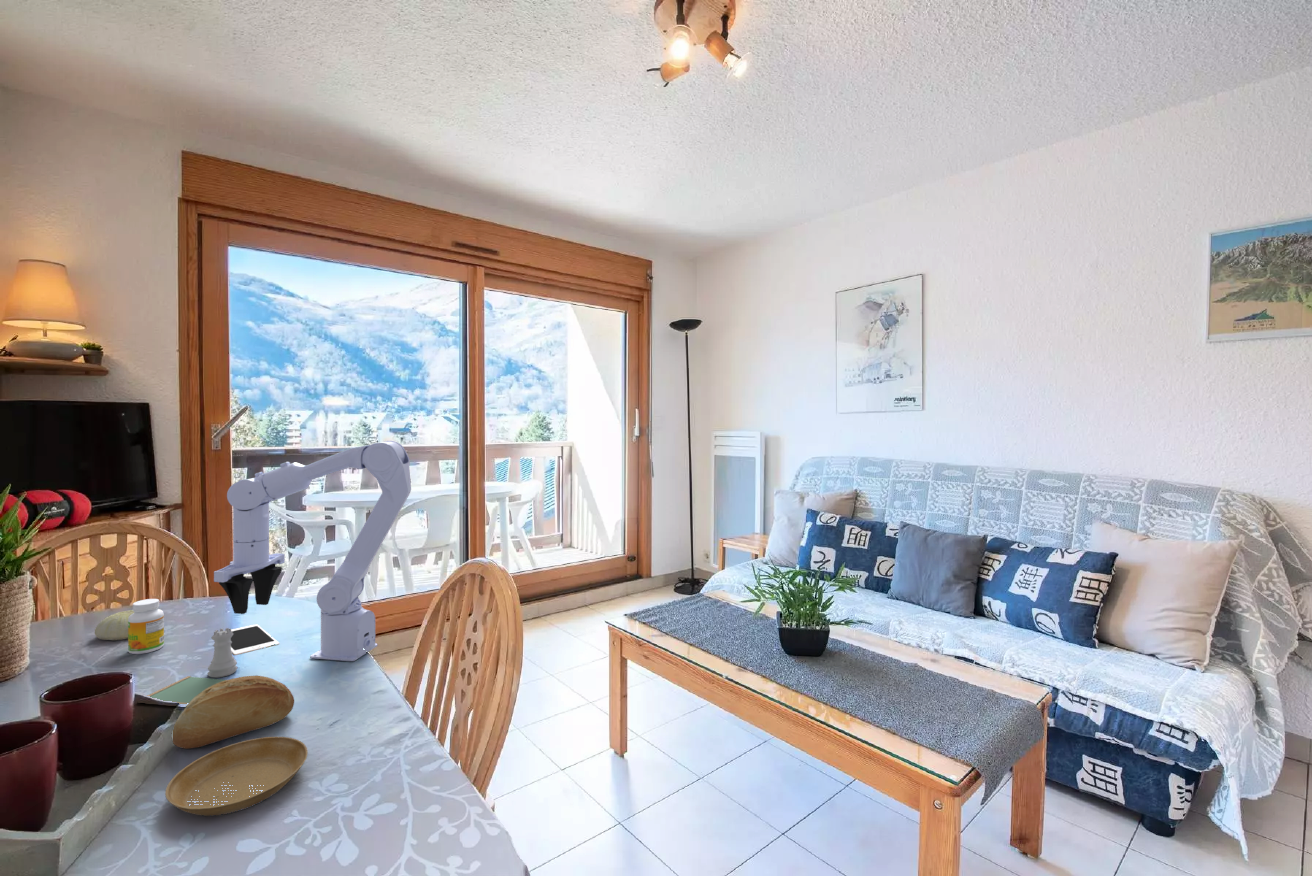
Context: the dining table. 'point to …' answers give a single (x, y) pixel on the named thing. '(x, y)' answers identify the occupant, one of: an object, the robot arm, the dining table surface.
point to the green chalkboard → (184, 689)
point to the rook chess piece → (222, 655)
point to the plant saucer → (236, 775)
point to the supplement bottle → (145, 627)
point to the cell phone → (250, 639)
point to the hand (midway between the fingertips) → (251, 608)
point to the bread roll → (232, 710)
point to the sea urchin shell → (114, 626)
